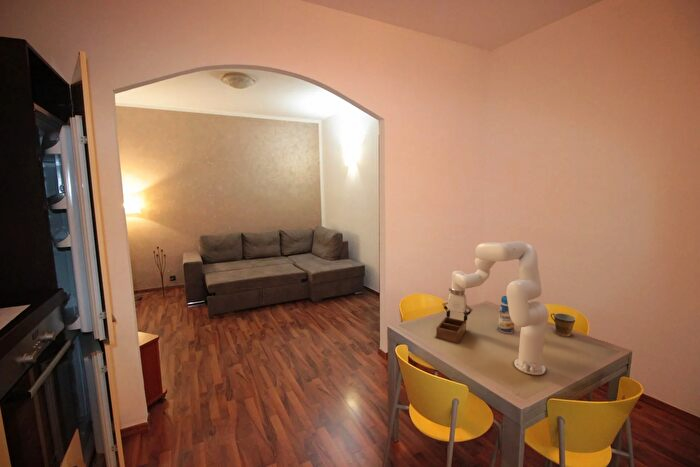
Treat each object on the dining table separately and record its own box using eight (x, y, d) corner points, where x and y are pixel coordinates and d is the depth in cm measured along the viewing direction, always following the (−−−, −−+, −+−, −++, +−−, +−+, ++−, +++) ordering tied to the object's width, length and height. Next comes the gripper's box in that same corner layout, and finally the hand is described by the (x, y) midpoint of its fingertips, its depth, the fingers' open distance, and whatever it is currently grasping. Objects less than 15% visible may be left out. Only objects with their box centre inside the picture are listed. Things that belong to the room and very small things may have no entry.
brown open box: (458, 333, 170) (467, 319, 186) (436, 327, 177) (447, 314, 192) (458, 343, 171) (467, 328, 187) (436, 337, 178) (447, 323, 193)
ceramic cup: (577, 335, 178) (579, 318, 176) (565, 339, 174) (567, 321, 172) (555, 326, 190) (557, 310, 188) (543, 329, 186) (545, 313, 184)
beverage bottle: (514, 329, 186) (516, 296, 183) (513, 335, 179) (515, 301, 176) (498, 326, 191) (500, 294, 188) (497, 331, 183) (499, 298, 180)
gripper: (441, 291, 188) (440, 318, 191) (471, 296, 178) (470, 325, 181) (445, 287, 194) (444, 314, 197) (474, 292, 184) (473, 320, 187)
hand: (456, 319), depth 189 cm, fingers open, 9 cm apart
